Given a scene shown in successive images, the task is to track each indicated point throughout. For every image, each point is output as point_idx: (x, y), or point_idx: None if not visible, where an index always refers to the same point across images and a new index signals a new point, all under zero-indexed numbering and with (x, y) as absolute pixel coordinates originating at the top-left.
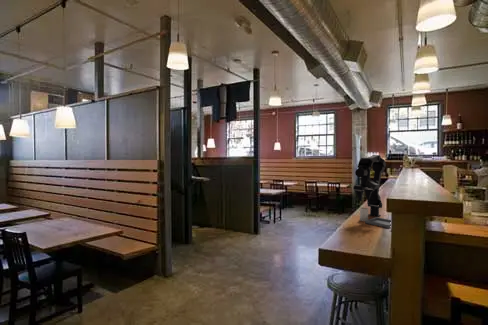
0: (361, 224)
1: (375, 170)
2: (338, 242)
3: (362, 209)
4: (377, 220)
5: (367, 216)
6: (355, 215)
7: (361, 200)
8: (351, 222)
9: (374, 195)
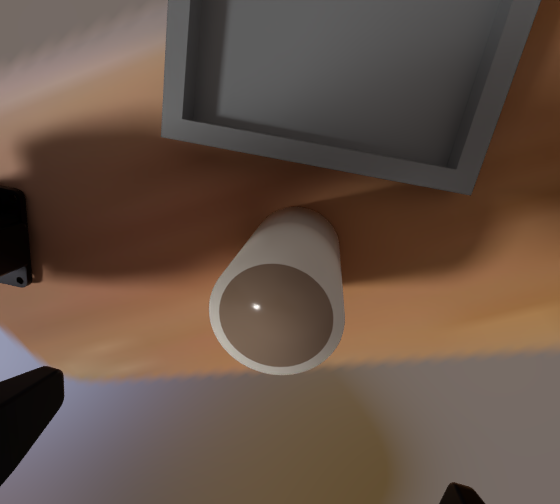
0: (533, 207)
1: None
2: None
3: (343, 322)
4: (232, 106)
5: (299, 221)
6: (137, 372)
7: (464, 493)
8: (491, 321)
9: None
